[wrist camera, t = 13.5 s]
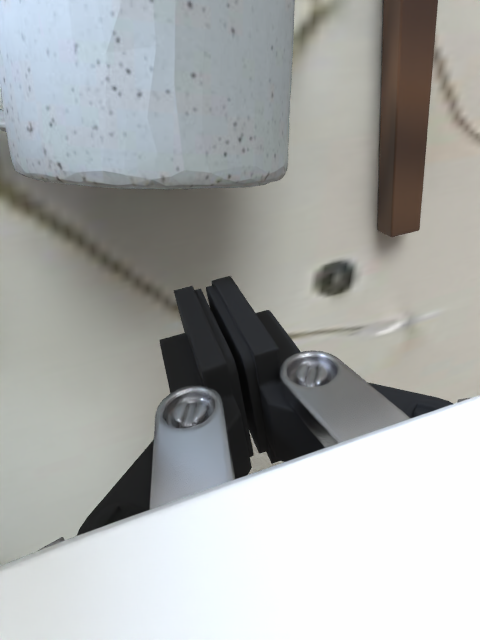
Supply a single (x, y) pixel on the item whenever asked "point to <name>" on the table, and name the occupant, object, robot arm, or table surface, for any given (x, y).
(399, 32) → the walnut frame
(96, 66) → the ceramic mug
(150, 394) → the table surface
